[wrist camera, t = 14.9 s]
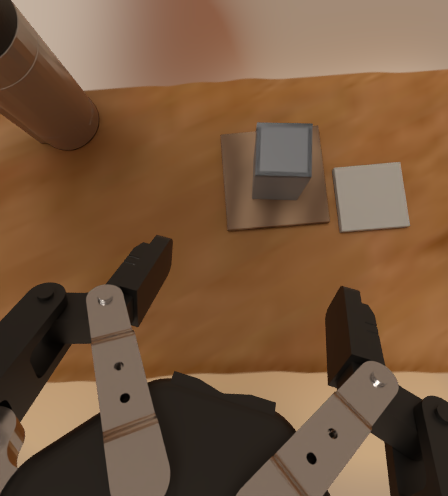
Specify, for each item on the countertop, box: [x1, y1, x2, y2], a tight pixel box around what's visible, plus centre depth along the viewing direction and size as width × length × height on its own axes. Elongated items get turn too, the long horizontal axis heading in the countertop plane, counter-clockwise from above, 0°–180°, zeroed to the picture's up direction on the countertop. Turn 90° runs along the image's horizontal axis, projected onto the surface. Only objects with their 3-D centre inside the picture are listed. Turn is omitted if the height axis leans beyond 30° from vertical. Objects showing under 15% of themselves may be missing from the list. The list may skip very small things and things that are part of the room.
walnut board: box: [221, 126, 330, 231], centre depth 43 cm, size 14×14×1 cm
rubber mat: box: [332, 162, 410, 232], centre depth 42 cm, size 9×9×1 cm
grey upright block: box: [252, 123, 313, 200], centre depth 38 cm, size 6×6×9 cm
